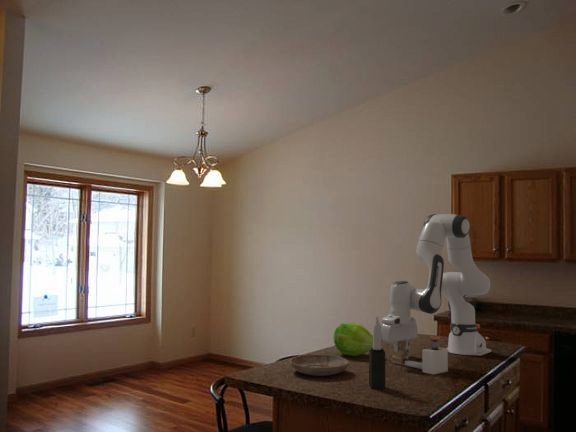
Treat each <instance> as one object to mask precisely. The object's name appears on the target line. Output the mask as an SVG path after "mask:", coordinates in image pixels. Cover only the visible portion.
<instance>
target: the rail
mask: <svg viewBox="0 0 576 432" xmlns="http://www.w3.org/2000/svg"><path fill="white" fill-rule="evenodd" d="M395 364H397V363H395ZM397 365H398V364H397ZM401 366H406V367H409V368H414V369H415V368H416V369H419V370H422V362H417V361H413V360H409V359H408V360H405V359H403V364H402V365H401Z"/></svg>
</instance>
